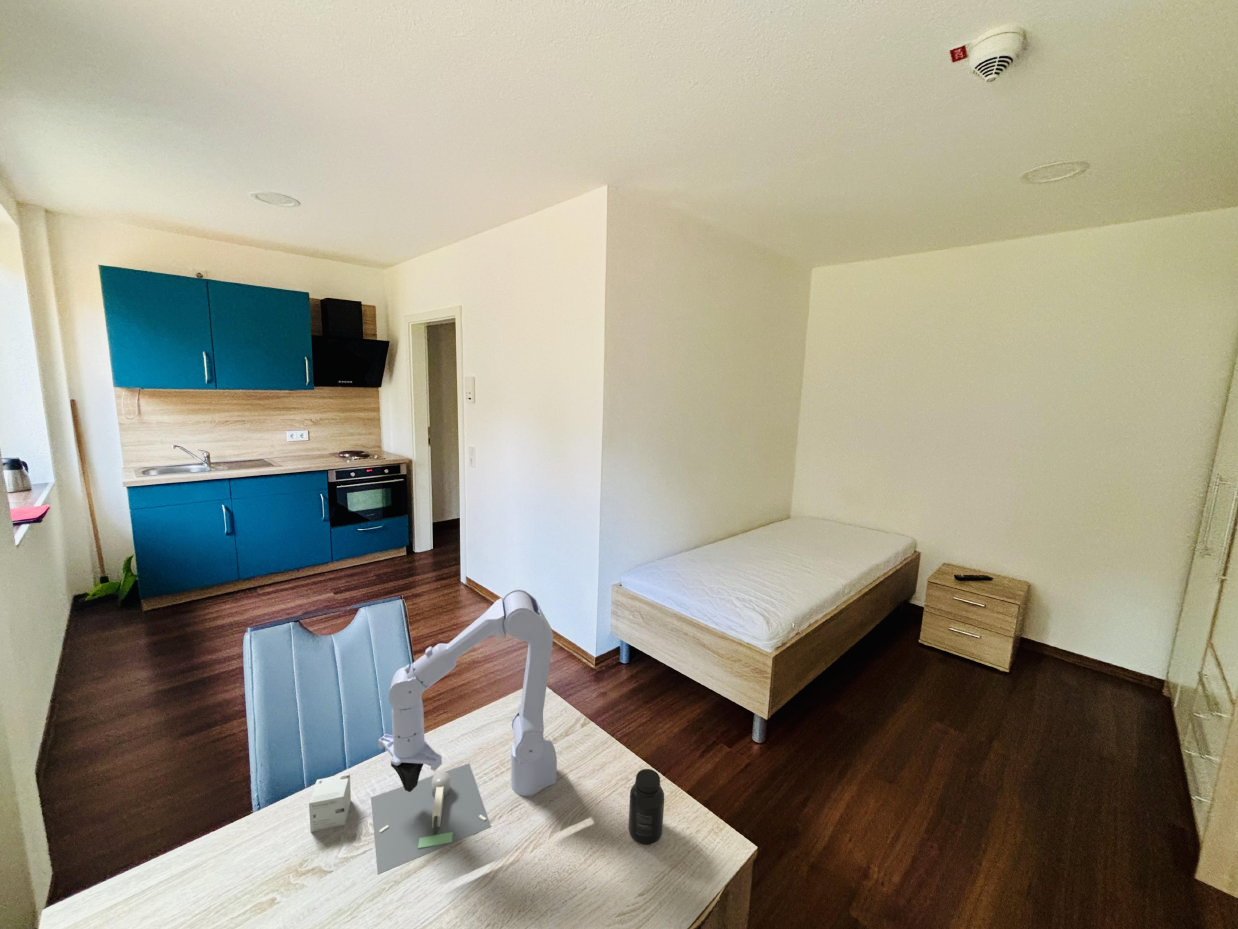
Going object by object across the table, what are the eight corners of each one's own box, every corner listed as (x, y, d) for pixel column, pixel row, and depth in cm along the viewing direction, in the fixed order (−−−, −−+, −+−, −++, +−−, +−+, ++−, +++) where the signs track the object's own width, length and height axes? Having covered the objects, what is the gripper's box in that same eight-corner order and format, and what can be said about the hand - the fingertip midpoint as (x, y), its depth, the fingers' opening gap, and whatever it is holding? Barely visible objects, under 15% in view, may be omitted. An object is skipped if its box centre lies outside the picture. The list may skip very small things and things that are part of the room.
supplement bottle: (669, 831, 98) (672, 778, 96) (647, 854, 93) (650, 799, 91) (643, 809, 102) (646, 759, 100) (620, 830, 97) (623, 777, 95)
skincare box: (310, 837, 93) (307, 803, 92) (318, 810, 99) (316, 778, 98) (346, 829, 95) (344, 796, 94) (352, 803, 101) (350, 772, 99)
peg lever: (433, 785, 105) (432, 773, 104) (450, 783, 105) (450, 771, 105) (425, 837, 93) (424, 824, 92) (445, 834, 94) (445, 820, 93)
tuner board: (469, 767, 111) (469, 762, 111) (491, 831, 96) (491, 825, 96) (371, 801, 101) (370, 796, 101) (377, 879, 86) (377, 873, 86)
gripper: (364, 730, 96) (368, 790, 98) (421, 753, 90) (424, 816, 93) (392, 708, 102) (395, 765, 105) (448, 728, 97) (450, 788, 99)
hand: (411, 787), depth 99 cm, fingers closed
